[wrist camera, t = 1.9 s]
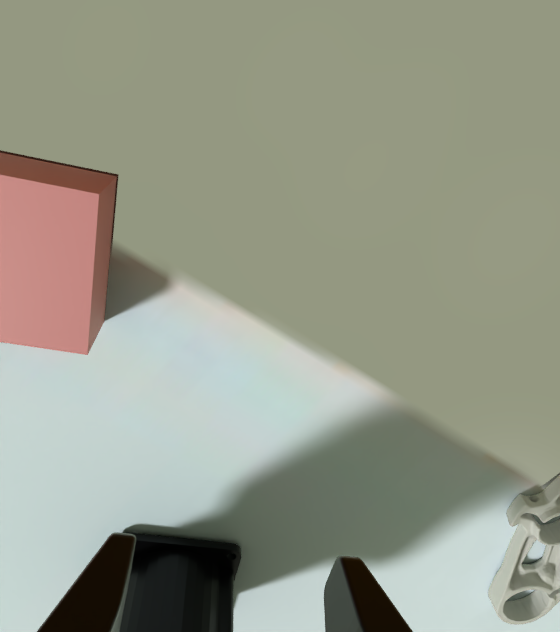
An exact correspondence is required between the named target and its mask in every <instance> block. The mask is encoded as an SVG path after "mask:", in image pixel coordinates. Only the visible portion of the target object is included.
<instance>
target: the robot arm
mask: <svg viewBox="0 0 560 632" xmlns="http://www.w3.org/2000/svg"><path fill="white" fill-rule="evenodd" d="M240 559H241V548H240V546H238V545H237V544H232V543H223V542H213V541H203V540H194V539H184V538H174V537H164V536H155V535H145V534H135V533H113V534H111V535H110V536H109V537H108V539H107V540H106V541H105V543H104V544H103V545H102V547H101V548H100V549H99V551H98V552H97V553H96V554H95V556H94V557H93V558H92V560H91V561H90V562H89V564H88V565H87V566H86V568H85V569H84V570H83V572H82V573H81V574H80V576H79V577H78V578H77V580H76V581H75V582H74V583H73V585H72V586H71V587H70V589H69V590H68V591H67V593H66V594H65V595H64V597H63V598H62V599H61V601H60V602H59V603H58V605H57V606H56V607H55V608H54V610H53V611H52V612H51V614H50V615H49V616H48V618H47V619H46V620H45V622H44V623H43V624H42V626H41V627H40V628H39V630H38V631H37V632H233V591H234V580H235V576H236V573H237V569H238V566H239V563H240ZM324 608H325V630H326V632H413V631H412V630H411V629H410V627H409V626H408V624H407V623H406V622H405V620H404V619H403V617H402V616H401V614H400V613H399V612H398V610H397V609H396V607H395V606H394V605H393V603H392V602H391V600H390V599H389V598H388V596H387V595H386V593H385V592H384V590H383V589H382V588H381V586H380V585H379V583H378V582H377V581H376V579H375V578H374V576H373V575H372V574H371V572H370V571H369V569H368V568H367V567H366V565H365V564H364V562H363V561H362V560H361V559H360V558H358V557H351V556H339V557H337V558H336V560H335V562H334V565H333V567H332V570H331V572H330V575H329V577H328V580H327V582H326V585H325V590H324Z"/></svg>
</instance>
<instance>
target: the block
mask: <svg viewBox="0 0 560 632" xmlns="http://www.w3.org/2000/svg"><path fill="white" fill-rule="evenodd" d="M117 185H118V174H114V173H108V172H104V171H99V170H94V169H89V168H84V167H79V166H74V165H70V164H65V163H60V162H55V161H50V160H45V159H40V158H35V157H30V156H25V155H21V154H16V153H11V152H6V151H1V150H0V342H4V343H11V344H18V345H24V346H31V347H38V348H45V349H52V350H58V351H65V352H72V353H79V354H85V355H88V353H89V351H90V349H91V347H92V345H93V343H94V341H95V339H96V337H97V335H98V333H99V331H100V329H101V327H102V325H103V323H104V317H105V306H106V294H107V282H108V271H109V259H110V248H111V245H112V244H113V232H114V220H115V208H116V197H117Z"/></svg>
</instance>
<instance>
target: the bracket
mask: <svg viewBox="0 0 560 632" xmlns="http://www.w3.org/2000/svg"><path fill="white" fill-rule="evenodd" d="M542 486H543V487H545V488H546V489H544V490H543V491H542V492H541V493H539V494H535V495H530V496H525V495H522V494H519V495H518V496H517V497H516V498H515V499H514V501H513V502H512V503H511V505H510V507H509V508H508V510H507V513H506V514H507V517H508V521H509V524H510V526H511V527H513V526H515V525H517V524H518V526H517V529H516V531H515V533H514V535H513V537H512V539H511V541H510V543H509V546H508V548H507V551H506V554H505V557H504V561H503V563H502V566H501V568H500V569H499V571H498V572H497V573H496V575H495V577H494V579H493V581H492V583H491V585H490V587H489V591H488V595H489V598H490V600H491V602H492V605H493V607H494V609H495V611H496V613H497V615H498V616H499V618H500V619H501V620H503V621H504V622H507V623H509V624H526V623H529V622H532V621H535V620H537V619H539V618H541V617H542V616H544V615H545V614H547V613H548V612H549V611H550V610H551V609H552V608H553V607H554V606H555V605H556V604H557V603H558V602H559V601H560V518H559V519H558V520H556V521H555V522H552V523H550V524H545V525H539V524H538V523H537V521H536V520H535V518H534V517H533V515H532V514H535V515H536V516H538V517H539V518H540V520H541V521H542V522H543V523H546V522H547V521H549V520H550V519H552V518H554V517H557V516H560V473H559V474H557V475H556V476H555V477H553V478H552V479H551V480H549V481H548V482H547V483H545V484H544V485H542ZM536 540H538V541H539V542H541V543H543V544H545V545H546V547H545V551H544V554H543V556H542V558H541V559H539V560H538V561H536V562H535V563H531V564H522V562H523V560H524V558H525V557H526V555H527V553H528V552H529V550H530V548H531V547H532V545H533V543H534V542H535V541H536ZM533 589H535V591H534V592H532V593H531V594H530V595H528V596H526V597H524V598H521V599H518V600H513V601H507V600H508V599H509V598H510V597H511V596H513V595H515V594H517V593H519V592H522V591H526V590H533Z"/></svg>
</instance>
